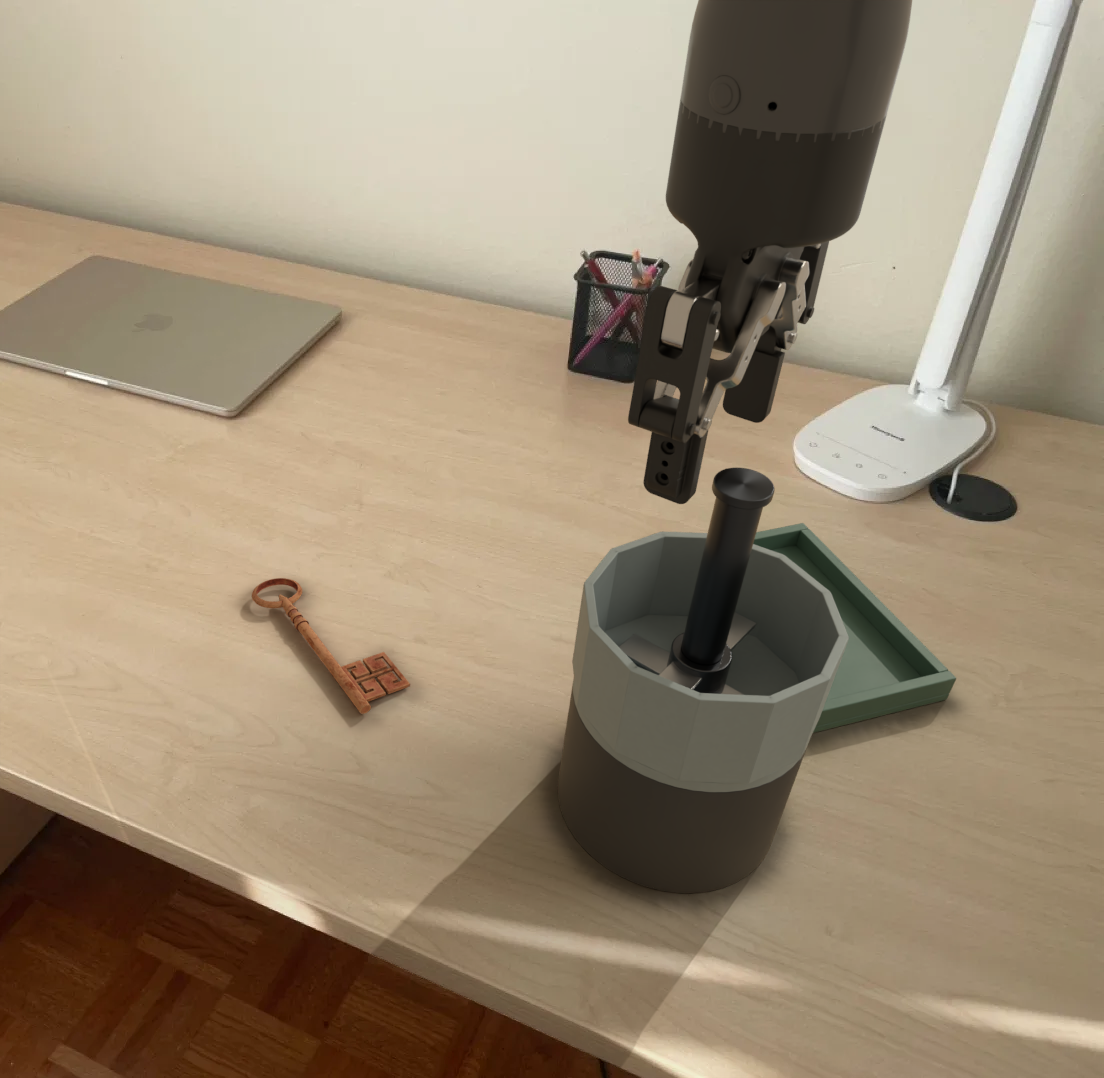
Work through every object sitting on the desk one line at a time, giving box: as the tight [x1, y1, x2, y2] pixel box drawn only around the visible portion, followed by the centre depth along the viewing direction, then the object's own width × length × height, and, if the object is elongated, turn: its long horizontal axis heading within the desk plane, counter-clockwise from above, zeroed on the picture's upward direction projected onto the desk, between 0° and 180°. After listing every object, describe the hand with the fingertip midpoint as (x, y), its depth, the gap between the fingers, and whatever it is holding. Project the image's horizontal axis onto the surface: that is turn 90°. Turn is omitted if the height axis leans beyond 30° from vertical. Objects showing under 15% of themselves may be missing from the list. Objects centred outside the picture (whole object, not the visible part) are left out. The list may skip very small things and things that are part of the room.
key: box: [251, 577, 411, 715], centre depth 76 cm, size 6×1×15 cm
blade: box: [619, 467, 776, 695], centre depth 54 cm, size 9×9×14 cm
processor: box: [557, 531, 849, 894], centre depth 60 cm, size 13×13×16 cm
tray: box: [753, 522, 957, 734], centre depth 76 cm, size 18×14×2 cm
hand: (708, 452), depth 50 cm, fingers open, 8 cm apart
